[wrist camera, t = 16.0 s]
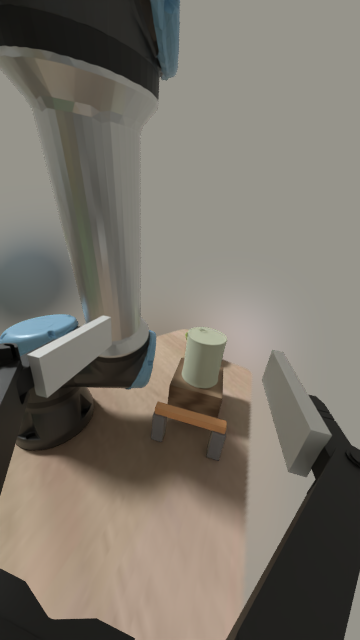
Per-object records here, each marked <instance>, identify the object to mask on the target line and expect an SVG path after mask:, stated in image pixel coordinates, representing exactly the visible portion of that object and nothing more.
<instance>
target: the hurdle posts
mask: <svg viewBox="0 0 360 640" xmlns="http://www.w3.org/2000/svg"><path fill="white" fill-rule="evenodd" d="M166 421H167V417H165V416H162V415H158V414H155V411H154V414H153V421H152V433H151V439H153V440H156V441H159V442H162V440H163V437H164V434H165V429H166ZM225 437H226V432H225V434H222V433H219V432H215V431H211V435H210V439H209V443H208V449H207V457H208V458H211V459H215V460H218V461H219V458H220V454H221V451H222V448H223V444H224V441H225Z"/></svg>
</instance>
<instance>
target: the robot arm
mask: <svg viewBox="0 0 360 640" xmlns="http://www.w3.org/2000/svg"><path fill="white" fill-rule="evenodd" d="M179 11H180V0H0V70H1V71H2V72H3V73H4V74H5V75H6V77H7V78H8V79H9V80H10V81H11V82H12V83H13V85H14V86H15V87H16V88H17V89H18V90H19V92H20V93H21V94H22V95H23V96H24V97H25V99H26V100H27V102H28V103H29V105H30V107H31V108H32V111H33V115H34V118H35V123H36V127H37V131H38V134H39V138H40V142H41V146H42V150H43V154H44V158H45V162H46V166H47V170H48V174H49V178H50V182H51V186H52V190H53V193H54V198H55V201H56V206H57V210H58V213H59V218H60V221H61V225H62V229H63V233H64V237H65V241H66V245H67V249H68V253H69V257H70V261H71V265H72V269H73V273H74V277H75V280H76V284H77V288H78V293H79V297H80V300H81V304H82V309H83V312H84V316H85V320H86V323H85V324H84V325H83V326H82V327H80V326H78V321H77V320H76V318H75V317H73V316H70V315H64V314H60V315H59V314H57V315H48V316H42V317H37V318H32V319H29V320H26V321H23V322H20V323H17V324H15V325H13V326H11V327H10V328H8V329H7V330H5V331H4V332H3V334H2V335H1V337H0V494H1V491H2V488H3V484H4V481H5V477H6V474H7V471H8V467H9V464H10V460H11V457H12V454H13V450H14V447H15V443H16V444H17V445H18V446H19V447H21V448H24V449H27V450H43V449H48V448H52V447H55V446H57V445H60V444H62V443H64V442H66V441H68V440H69V439H71V438H73V437H74V436H75V435H77V434H78V433H79V432H80V431H81V430H82V429H83V428H84V427H85V426H86V425H87V424H88V422H89V420H90V419H91V417H92V414H93V410H94V405H93V398H92V395H91V393H90V391H89V390H88V388H87V387H95V388H125V389H131V388H142V387H145V386H146V385H147V384H148V382H149V379H150V376H151V372H152V367H153V361H154V356H155V348H156V334H155V332H153V331H151V330H149V328H148V324H147V323H146V321H145V320H144V319H143V318H142V317H141V313H140V312H141V301H140V300H141V297H140V296H141V291H140V290H141V284H140V282H141V278H140V277H141V276H140V273H141V272H140V269H141V268H140V135H141V131H142V128H143V126H144V125H145V124H146V123H147V122H148V120H149V119H150V118H151V117H152V116H153V114H154V113H155V112H156V111H157V109H158V93H159V77H161V79H162V80H168V78H171V77H174V76H175V75H176V72H177V68H178V54H179V53H178V52H179V24H180V23H179V13H180V12H179ZM262 382H263V385H264V389H265V393H266V396H267V400H268V403H269V406H270V410H271V414H272V417H273V421H274V424H275V427H276V431H277V434H278V438H279V441H280V445H281V448H282V452H283V455H284V459H285V462H286V465H287V469H288V472H290V473H294V474H297V475H300V476H304V477H307V475H308V474H309V472H310V471H311V469H312V471H313V474H314V476H315V479H316V480H315V481H314V483H313V484H312V486H311V488H310V489H309V490H308V492H307V495H306V497H305V499H304V501H303V502H302V504H301V506H300V508H299V510H298V511H297V513H296V515H295V517H294V519H293V520H292V522H291V524H290V526H289V528H288V529H287V531H286V533H285V535H284V537H283V538H282V540H281V542H280V544H279V545H278V547H277V549H276V551H275V553H274V554H273V556H272V558H271V560H270V562H269V563H268V565H267V567H266V569H265V571H264V572H263V574H262V576H261V578H260V580H259V581H258V583H257V585H256V587H255V589H254V591H253V592H252V594H251V596H250V598H249V599H248V601H247V603H246V605H245V607H244V608H243V610H242V612H241V614H240V616H239V617H238V619H237V621H236V623H235V625H234V626H233V628H232V630H231V632H230V634H229V635H228V637H227V639H226V640H344V636H345V632H346V627H347V623H348V619H349V615H350V610H351V606H352V602H353V597H354V593H355V589H356V585H357V580H358V576H359V572H360V450H359V449H357V448H356V447H354V446H352V445H351V444H350V442H349V441H348V439H347V438H346V437H345V435H344V433H343V432H342V430H341V429H340V427H339V426H338V424H337V423H336V421H334V418H333V416H332V415H331V414H330V412H329V410H328V409H327V407H326V406H325V404H324V403H323V402H322V401H320V400H319V399H318V398H317V397H316V396H312V395H308V394H307V392H306V390H305V388H304V387H303V385H302V383H301V382H300V380H299V378H298V376H297V375H296V373H295V371H294V370H293V368H292V366H291V365H290V363H289V361H288V359H287V358H286V356H285V354H284V353H283V352H280V351H275V350H272V352H271V355H270V358H269V361H268V364H267V367H266V369H265V372H264V375H263V378H262ZM0 640H135V638H133V637H131V636H129V635H127V634H126V633H124V632H122V631H120V630H118V629H116V628H114V627H112V626H110V625H108V624H106V623H104V622H102V621H100V620H99V619H97V618H93V619H56V620H55V619H50V618H49V617H48V616H47V614H46V613H45V611H44V610H43V608H42V607H41V605H40V603H39V602H38V600H37V599H36V597H35V596H34V594H33V593H32V591H31V589H30V588H29V586H28V585H27V583H26V582H25V581H23V580H21V579H20V578H18V577H16V576H14V575H12V574H10V573H8V572H6V571H4V570H2V569H0Z"/></svg>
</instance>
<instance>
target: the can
mask: <svg viewBox="0 0 360 640" xmlns="http://www.w3.org/2000/svg"><path fill="white" fill-rule="evenodd" d="M226 342H227V338H226V336H225V335H224V334H223V333H221V332H220V331H217V330H215V329H211V328H206V327H196V328H192V329H190V330H189V331H188V337H187V345H186V352H185V359H184V365H183V370H182V377H183V379H184V380H185V381H186V382H187V383H188V384H190V385H192V386H194V387H197V388H210V387H213V386H214V385H216V384H217V382H218V375H219V370H220V366H221V361H222V357H223V352H224V349H225V345H226Z"/></svg>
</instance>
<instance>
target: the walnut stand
mask: <svg viewBox="0 0 360 640" xmlns="http://www.w3.org/2000/svg"><path fill="white" fill-rule="evenodd" d="M184 359H185V358H181V360H180V363H179V365H178V367H177V370H176V372H175V374H174V377H173V379H172V381H171V383H170V388H169V397H168V405H172V406H175V407H179V408H182V409H186V410H189V411H193V412H196V413H200V414H204V415H207V416H211V417H214V418H217V417H218V413H219V409H220V406H221V402H222V392H223V367H220V370H219V375H218V382H217V384H216V385H214V386H213V387H210V388H197V387H194V386H192V385H190V384H188V383H187V382H186V381H185V380H184V379H183V377H182V370H183V365H184Z"/></svg>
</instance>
